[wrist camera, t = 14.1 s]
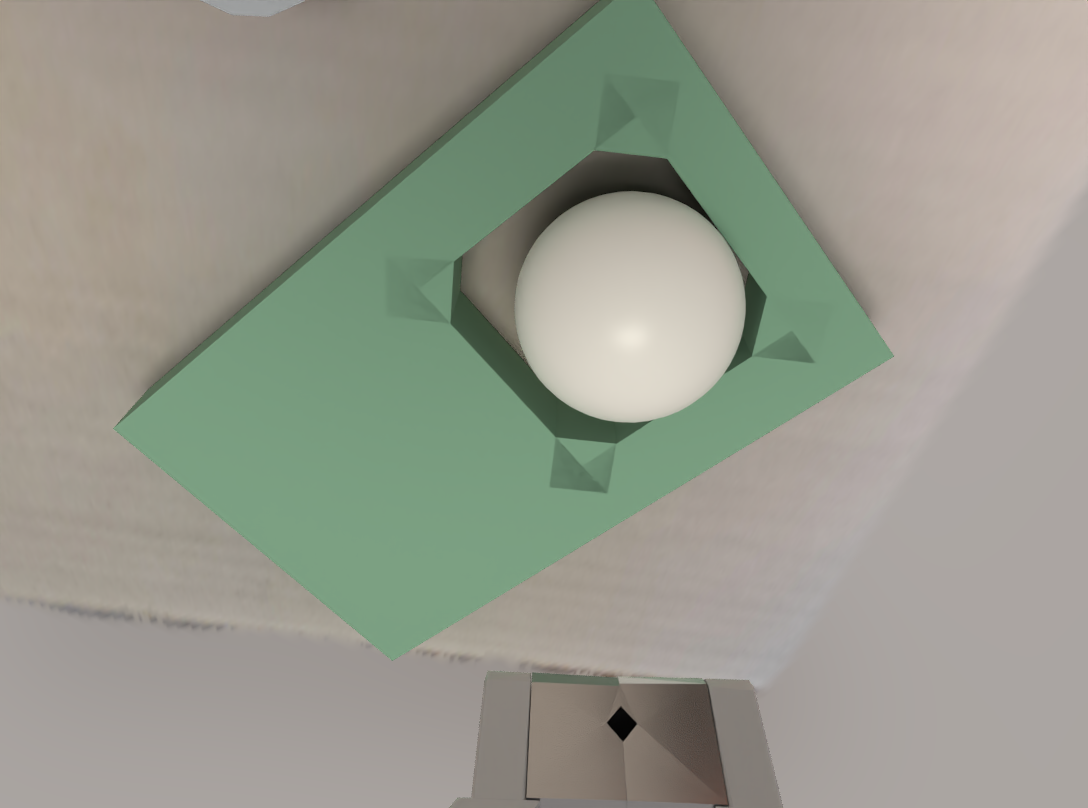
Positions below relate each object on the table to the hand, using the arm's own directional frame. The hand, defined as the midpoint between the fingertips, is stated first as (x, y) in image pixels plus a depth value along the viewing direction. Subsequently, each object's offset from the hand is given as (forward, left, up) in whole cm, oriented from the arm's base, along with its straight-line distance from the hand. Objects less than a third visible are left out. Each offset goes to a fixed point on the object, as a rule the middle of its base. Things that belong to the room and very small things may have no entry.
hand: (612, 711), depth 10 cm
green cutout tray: (-4, -12, -33) cm, 35 cm away
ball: (+2, -7, -28) cm, 29 cm away
